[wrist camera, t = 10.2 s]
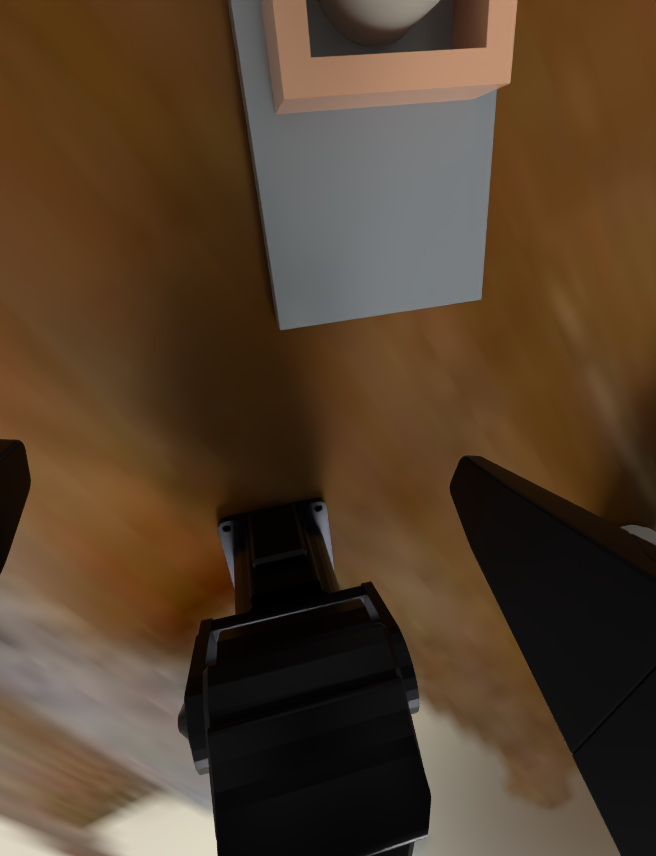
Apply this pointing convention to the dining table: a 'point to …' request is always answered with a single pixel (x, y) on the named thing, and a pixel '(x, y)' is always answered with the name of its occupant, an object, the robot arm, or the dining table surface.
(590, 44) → the dining table surface
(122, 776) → the dining table surface
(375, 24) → the candle
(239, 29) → the candle stand
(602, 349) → the dining table surface
